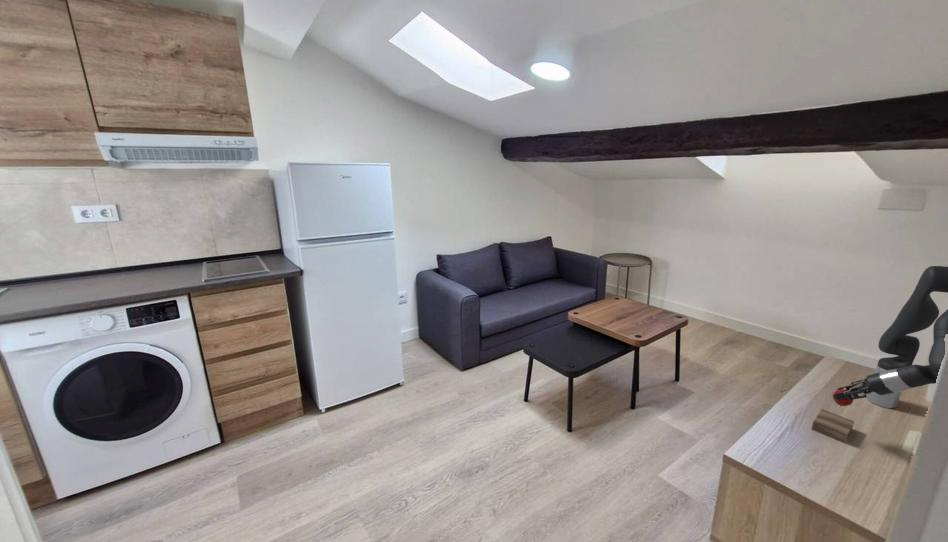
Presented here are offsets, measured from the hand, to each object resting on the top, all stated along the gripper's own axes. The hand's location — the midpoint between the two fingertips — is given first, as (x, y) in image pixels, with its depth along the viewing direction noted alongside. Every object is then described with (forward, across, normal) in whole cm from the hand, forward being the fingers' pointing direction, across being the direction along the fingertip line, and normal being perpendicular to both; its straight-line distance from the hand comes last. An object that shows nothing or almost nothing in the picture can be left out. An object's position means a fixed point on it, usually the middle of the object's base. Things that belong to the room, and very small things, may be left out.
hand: (837, 394), depth 149 cm
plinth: (+11, 0, +12) cm, 16 cm away
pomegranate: (+2, 0, +4) cm, 5 cm away
